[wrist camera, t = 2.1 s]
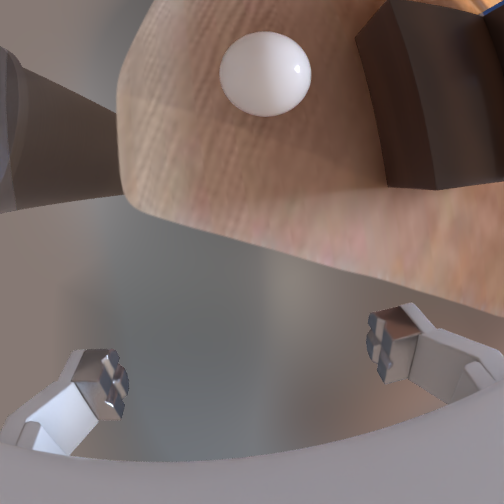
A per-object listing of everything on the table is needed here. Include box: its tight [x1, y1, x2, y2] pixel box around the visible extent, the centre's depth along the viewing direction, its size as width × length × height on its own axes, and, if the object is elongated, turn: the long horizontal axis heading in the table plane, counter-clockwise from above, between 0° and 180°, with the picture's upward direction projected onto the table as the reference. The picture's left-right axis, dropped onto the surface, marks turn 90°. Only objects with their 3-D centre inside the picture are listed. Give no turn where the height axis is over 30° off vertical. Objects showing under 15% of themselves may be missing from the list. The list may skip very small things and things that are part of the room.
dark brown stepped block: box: [355, 0, 504, 190], centre depth 22 cm, size 12×16×13 cm
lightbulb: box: [219, 31, 311, 117], centre depth 22 cm, size 6×6×11 cm
